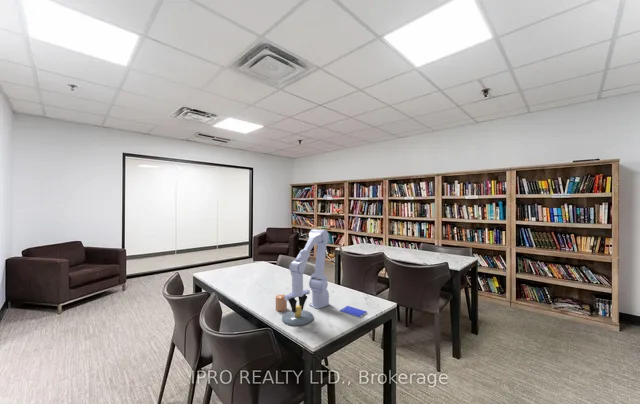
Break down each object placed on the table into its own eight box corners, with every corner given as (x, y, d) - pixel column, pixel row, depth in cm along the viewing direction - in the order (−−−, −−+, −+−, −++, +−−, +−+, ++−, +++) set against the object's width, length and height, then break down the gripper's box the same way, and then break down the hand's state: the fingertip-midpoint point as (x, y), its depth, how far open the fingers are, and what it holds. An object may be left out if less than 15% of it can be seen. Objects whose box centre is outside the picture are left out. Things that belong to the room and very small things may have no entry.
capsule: (298, 314, 135) (299, 304, 135) (302, 316, 132) (302, 306, 133) (293, 315, 133) (294, 306, 133) (297, 318, 130) (297, 308, 130)
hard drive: (339, 310, 140) (359, 316, 132) (347, 305, 146) (367, 311, 139) (339, 312, 140) (359, 319, 132) (347, 308, 146) (367, 314, 139)
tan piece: (283, 305, 149) (282, 293, 149) (288, 309, 144) (288, 296, 144) (273, 308, 145) (273, 296, 145) (279, 312, 140) (279, 299, 141)
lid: (301, 309, 144) (301, 307, 144) (319, 319, 132) (319, 317, 132) (276, 317, 133) (276, 315, 133) (293, 329, 121) (293, 327, 121)
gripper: (289, 289, 125) (290, 317, 125) (313, 283, 134) (313, 309, 134) (282, 286, 130) (282, 312, 130) (305, 280, 140) (305, 305, 139)
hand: (297, 310), depth 132 cm, fingers open, 4 cm apart
